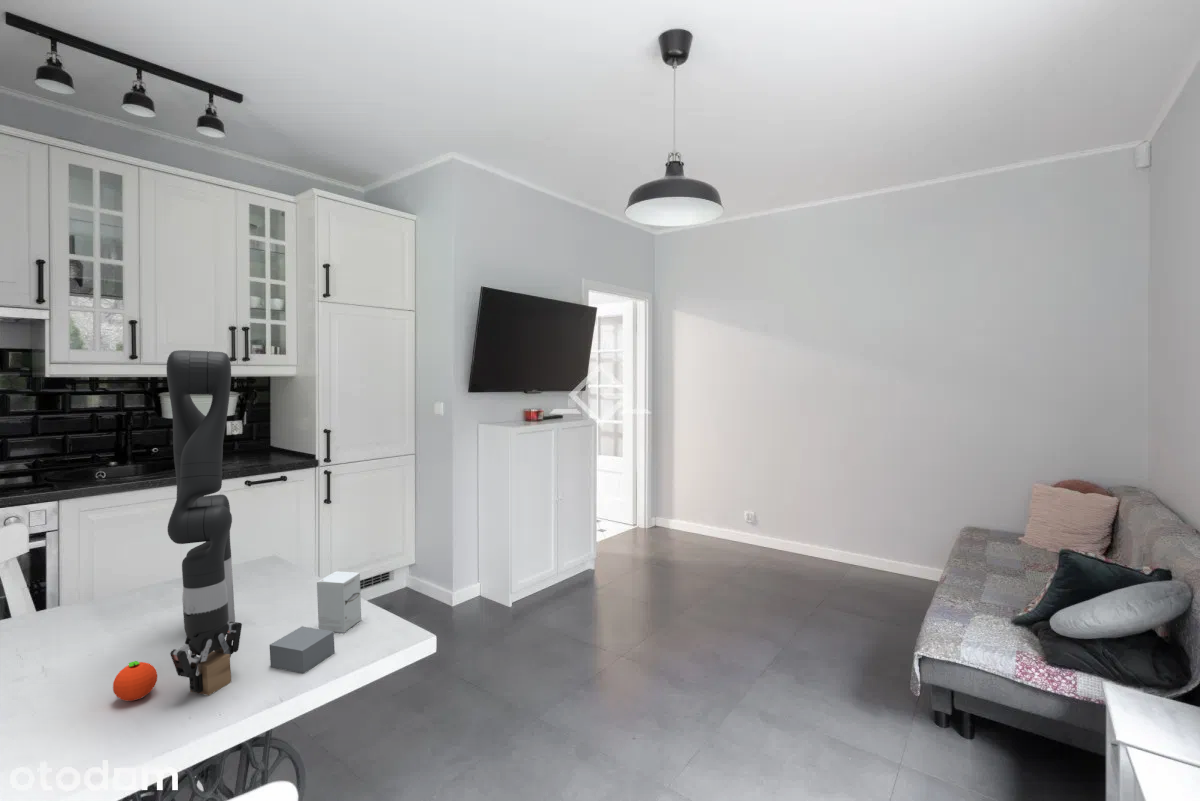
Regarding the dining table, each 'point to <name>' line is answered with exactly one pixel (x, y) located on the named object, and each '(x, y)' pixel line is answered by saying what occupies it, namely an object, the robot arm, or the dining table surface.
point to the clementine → (135, 681)
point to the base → (302, 649)
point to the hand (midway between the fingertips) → (210, 683)
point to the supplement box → (339, 601)
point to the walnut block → (215, 672)
